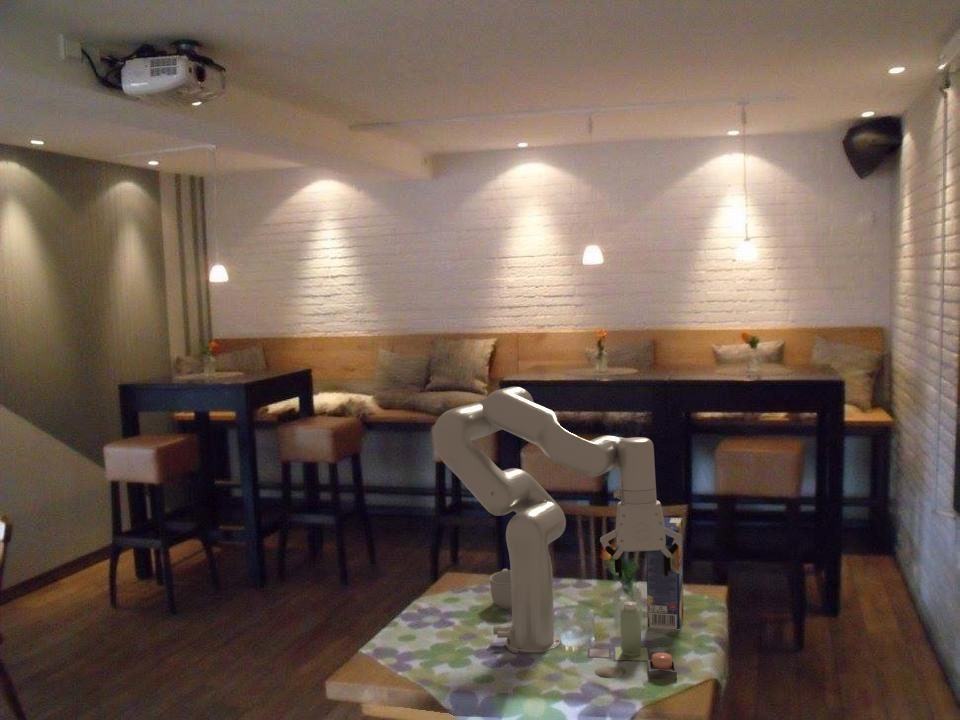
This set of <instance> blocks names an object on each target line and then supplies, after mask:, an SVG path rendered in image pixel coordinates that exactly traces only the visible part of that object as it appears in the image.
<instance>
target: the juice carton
mask: <svg viewBox="0 0 960 720" xmlns="http://www.w3.org/2000/svg"><path fill="white" fill-rule="evenodd" d="M663 517H664V526H665V527H666V528H668V529H670V530H672V531H675V532H677V533H679V534H681V535H682V540H681V542H680V544H679V546H678V549H677V550H676V551H675V552H674V553H673V554H672V556H671V557H670V564H671V571H668V576H665V575H664V572H663V554H664V553H663V552H662V551H661V550H657V551H645V555H646V606H647V607H646V608H647V613H646V614H647V628H648V627H651V629H661V628H668V629H667V630H674V629H681V625H682V622H683V617H684V613H685V612H684V559H683V558H684V555H683V554H684V551H683V547H684V546H683V545H684V544H683V543H684V541H683V517H665V516H663ZM665 536H666V546H667V547H669V546H670V545H671V544H672V543H673V541H674V538H672V537H670V536H668V535H665Z"/></svg>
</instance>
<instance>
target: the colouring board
mask: <svg viewBox="0 0 960 720" xmlns="http://www.w3.org/2000/svg"><path fill="white" fill-rule="evenodd" d="M612 647H613V650H612V648H593V647H592V648H587V658H589V659H590V658H593V659H594V658H595V659H599V658H600V659H611V658H612V657H611V656H612V651H613V662H614V661H615V662H645V663H646V662H647V670H648V671H647V672H648V679H649V680H668V681H677V680H678V669H677V666H676V665H677V664H676V660H672V668H670V669H667V670H659V669H656V668H654V667H653V666H652V659H651V656H650V654H651V653H650V648H649V647H648V646H647V647H646V646H641V651H640V656H638V657H626V656H624V655H622V650H621V646H612ZM594 674H595V675H596V676H598V677H599V678H603V679H615V678H619V677H621V676H622V675H623V674H624V673H623V670H622V669H620V668H618V667H615V666H608V665H607V666H600V667H598V668H596V669H595V670H594Z"/></svg>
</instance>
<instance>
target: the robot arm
mask: <svg viewBox="0 0 960 720" xmlns="http://www.w3.org/2000/svg"><path fill="white" fill-rule="evenodd" d="M533 399H534V398H533V397H532V394H531V393H530V392H529V391H528V390H526V389H525V388H522V387H521V386H508V387H504V388H499V389H496V390H493V392H491V393H489V394H488V395H487V396H486V397H485V398H484V399H481V400H479V401H475V402H473V403H470V404H465V405H461V406H458V407H457V406H456V407H454V408H451V409H449V410H446V411H444V412H443V413H442V414H440V416H439V417H438V418H437V420H436V422H435V424H434V427H433V434H432V435H433V436H432V437H433V438H432V439H433V445H434V449H435V452H436V453H437V456H438V458H439V459H440V460H441V461H442V462H443V464H445V466H447V468H448V469H450V471H451V472H452V473H453V474H454V475H455V476H456V477H457V478H458V480H460V482H461V483H462V484H463V485H464V486H465V487H466V489H467V490H468V491H469V492H470V493H471V494H472V495H473V496H474V497H475V499H477V501H478V502H479V503H480V504H481V505H482V506H483V508H484V509H485V510H486V511H487V512H488V513H490V514H491V515H493V516H495V517H496V516H497V517H500V516H505V515H507V514H509V513H512V512H514V513H516V514H514V515H513V516H512V517H511V518H510V520H509V522H508V524H507V525H506V530H505V531H506V532H505V541H506V546H507V550H508V556H509V565H510V567H509V568H510V569H509V570H510V571H511V595H512V609H511V618H512V620H511V624H509V625H508V624H507V625H506V626H501V625H499V626H498V625H496V626H495V625H494V626H493V628H492V629H493V636H496V635H497V637H496V638H498V639H503V638H506V640H505V646H506V648H507V650H509V651H510V652H512V653H515V654H518V653H519V652H523V653H541V652H548V651H551V650H555V649H556V648H558V647H559V646H560V645H561V644H562V639H561V638H560V636H558V635H557V634H555V622H554V619H555V615H554V584H553V583H554V581H553V579H554V578H553V565H552V560H551V555H550V553H549V545H550V544H551V543H553V542H554V541H556V540H557V539H559V538H560V537H561V536H562V535H563V533H564V532H565V531H566V525H567V519H566V516H565V513H564V510H563V509H562V508H561V506H560V505H559V504H558V503H557V502H556V501H555V500H554V499H553V497H552V496H551V495H550V494H549V493H548V492H547V491H546V490H545V488H543V486H541V484H540V483H539V482H538V481H537V480H536V479H535V478H534V477H533V476H532V475H530V473H528V472H527V471H525V470H524V469H520V468H515V467H512V468H507V469H504V470H502V469H501V468H500V467H498V466H497V465H496V464H495V462H493V460H492V459H491V458H490V457H489V456H488V455H487V453H485V452H484V451H482V450H481V449H479V448H478V447H476V446H474V444H472V441H475V440H479V439H482V438H484V437H487V436H489V435H492V434H494V433H496V432H499V431H502V430H503V431H505V432H508V433H510V434H512V435H514V436H516V437H518V438H521V439H523V440H524V441H526V442H528V443H531V444H533V445H535V446H537V447H538V448H539V449H540V450H541V451H542V453H544V454H545V455H546V456H547V457H548V458H549V459H550V460H552V461H553V462H555V463H557V464H558V465H560V466H562V467H564V468H566V469H567V470H570V471H573V472H574V473H577V474H579V475H581V476H585V477H589V478H594V477H595V478H596V477H600V476H602V475H604V474H605V473H607V472H611V471H613V470H615V469H618V475H619V476H618V477H619V489H618V490H617V491H613V498H614V499H619V502H618V503H617V507H616V523H615V524H616V525H615V526H616V528H615V529H612V530H611V531H610V532H608V533H606V534H604V535H602V536H601V537H600V538H599V541H600V543H601V545H602V547H603V549H604V550H605V552H606V553H608V555H609V556H611V557H612V558H613V560H614V573H615V574H618V579H621V578H623V565H622V564H623V563H622V557H621V556H622V554H623V553H624V552H628V553H629V552H631V553H632V552H646V551H657V550H661V551H662V552H663V553H664V554H663V572H664V575H665V576H668V571H671V564H670V557H671V556H672V554H673V553H674V552H675V551H676V550H677V549H678V546H679V544H680V542H681V540H682V537H683V534H682V535H681V534H679V533H677V532H675V531H672V530H670V529H668V528H666V527H665V526H664V517H665V516H664V513H663V508H662V503H661V502H660V501H659V500H657V486H656V485H657V484H656V483H657V482H656V469H655V468H656V466H655V448H654V443H653V441H652V440H651V439H650V438H647V437H642V436H641V437H640V436H639V437H637V436H636V437H627V438H626V437H621V436H619V437H618V436H615V435H601V436H598V437H596V438H595V437H594V438H593V439H590V440H587V439H585V438H583V437H580V436H578V435H576V434H574V433H571V432H569V431H568V430H567V429H565V428H564V427H562V426H561V425H560V423H559V421H558V416H557V414H556V413H557V412H555V411H553V410H552V409H549V408H547V407H545V406H543V405H540V404H538V403H535V402H534V400H533ZM665 535H668V536H670V537H672V538H674V541H673V543H672V544H671V545H670V546H669V547H667V546H666V536H665ZM615 538H616V545H617V546H616V547H615V548H613V546H611V545H610V543H609V542H610V541H611V540H613V539H615Z"/></svg>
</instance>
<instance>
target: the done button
mask: <svg viewBox="0 0 960 720" xmlns="http://www.w3.org/2000/svg"><path fill="white" fill-rule="evenodd" d="M651 660H652V666H653V667H654V668H656V669H659V670H667V669H670V668H672V661H673V658H672V655H671V653H670V654H669V653H667V652H655V653H653V654H652V655H651Z"/></svg>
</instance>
